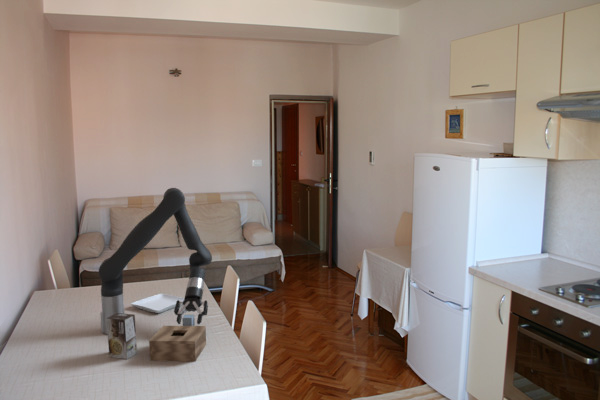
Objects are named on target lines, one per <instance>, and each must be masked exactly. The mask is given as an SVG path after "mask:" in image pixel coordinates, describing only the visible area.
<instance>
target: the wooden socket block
mask: <svg viewBox="0 0 600 400" xmlns="http://www.w3.org/2000/svg"><path fill="white" fill-rule="evenodd" d="M206 333H207V332H206V325H195V326H183V325H162V326H161V328H159V330H158V331H157V332H156V333H155V334H154V335H153V336H152V337H151V338H150V339H149V341H148V345H149V361H150V362H151V361H154V362H155V361H157V362H164V361H165V362H196V361H197V360H198V358H199V356H200V355H201V354H202V352H203V350H204V348H205V347H206V346H207V334H206Z"/></svg>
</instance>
